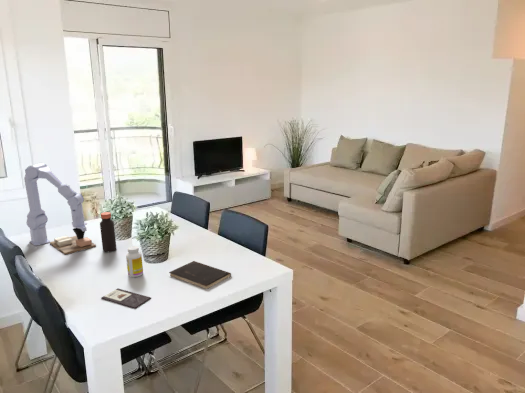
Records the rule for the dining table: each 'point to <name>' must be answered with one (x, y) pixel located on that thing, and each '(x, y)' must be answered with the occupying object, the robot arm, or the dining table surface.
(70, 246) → the board
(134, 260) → the supplement bottle
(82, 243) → the block
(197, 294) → the dining table surface
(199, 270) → the hardcover book
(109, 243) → the vinegar
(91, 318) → the dining table surface
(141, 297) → the chocolate bar
